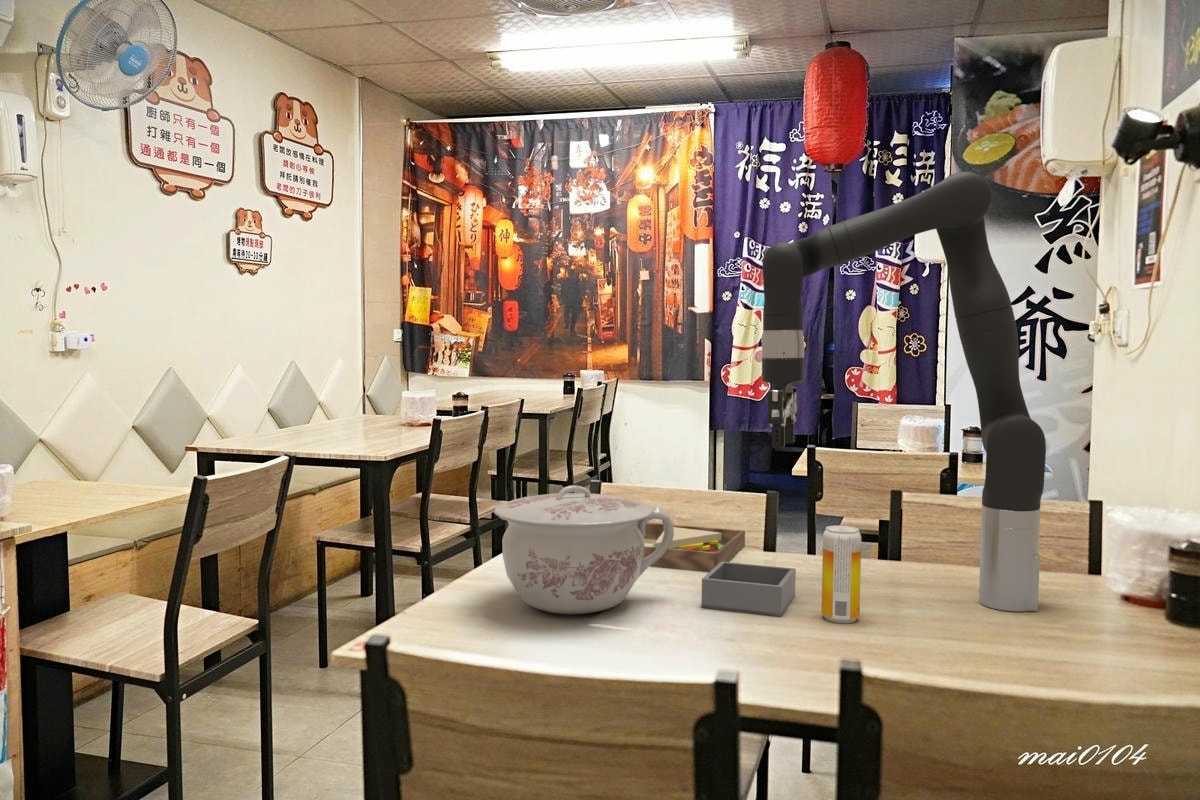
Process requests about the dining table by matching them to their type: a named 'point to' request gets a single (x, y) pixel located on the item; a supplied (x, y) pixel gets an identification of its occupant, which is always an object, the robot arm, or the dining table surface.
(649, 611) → the dining table surface
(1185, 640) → the dining table surface
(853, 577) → the beer can
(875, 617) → the dining table surface
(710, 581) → the box
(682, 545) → the sandwich
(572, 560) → the chamber pot
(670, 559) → the serving board rim
